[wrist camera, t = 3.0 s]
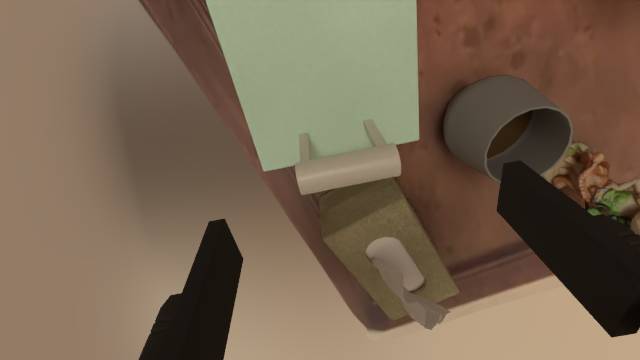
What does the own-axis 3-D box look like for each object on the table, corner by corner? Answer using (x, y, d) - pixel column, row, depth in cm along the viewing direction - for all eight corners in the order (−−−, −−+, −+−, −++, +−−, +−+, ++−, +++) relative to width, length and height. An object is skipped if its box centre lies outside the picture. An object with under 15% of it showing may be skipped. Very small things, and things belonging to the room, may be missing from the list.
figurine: (573, 128, 37) (717, 201, 24) (604, 158, 40) (749, 238, 27) (511, 182, 41) (609, 269, 28) (543, 206, 44) (646, 296, 31)
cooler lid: (416, 136, 25) (459, 188, 19) (264, 167, 26) (253, 228, 19) (407, -199, 15) (491, -340, 9) (162, -138, 16) (68, -227, 9)
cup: (416, 101, 34) (457, 139, 26) (497, 47, 32) (571, 69, 23) (450, 161, 38) (494, 210, 30) (523, 117, 36) (594, 157, 28)
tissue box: (437, 249, 47) (494, 355, 33) (379, 276, 49) (411, 384, 35) (383, 158, 38) (432, 252, 24) (316, 195, 40) (326, 300, 26)
